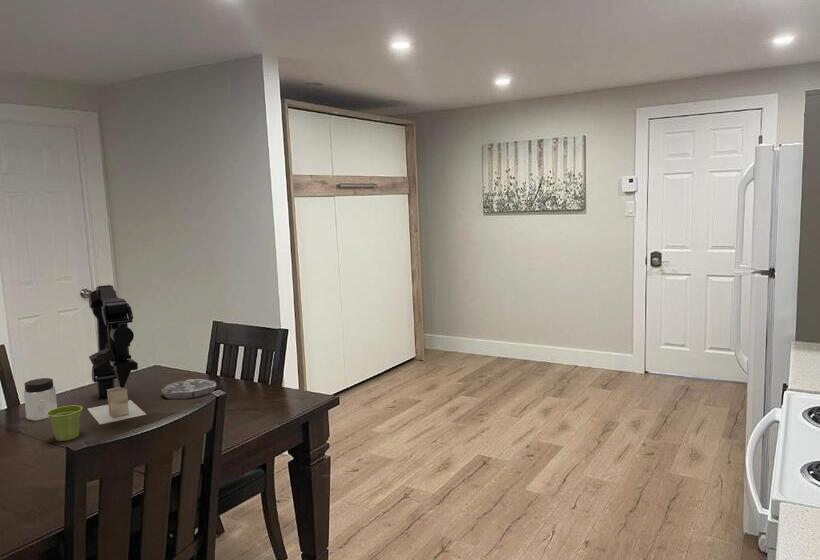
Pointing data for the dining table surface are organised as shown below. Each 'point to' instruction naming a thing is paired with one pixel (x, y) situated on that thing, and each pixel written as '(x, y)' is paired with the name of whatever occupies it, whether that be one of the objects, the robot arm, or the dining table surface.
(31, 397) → the jar
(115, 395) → the birch block
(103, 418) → the grey mat
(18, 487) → the dining table surface
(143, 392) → the dining table surface
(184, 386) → the brain slice
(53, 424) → the plant pot
